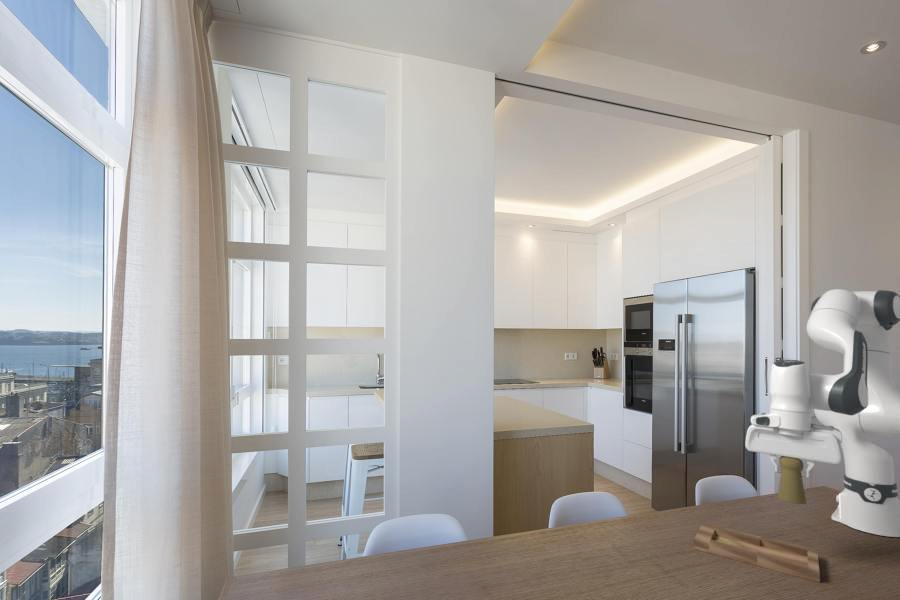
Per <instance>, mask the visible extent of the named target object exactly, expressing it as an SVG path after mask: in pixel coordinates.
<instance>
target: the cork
mask: <svg viewBox="0 0 900 600" xmlns="http://www.w3.org/2000/svg"><path fill="white" fill-rule="evenodd" d="M802 460H803V459H798V458H791V457H785V456H780V457H779V458H778V465H780V467H781V468H782V469H781V471H782V472H781V473H780V478H779V486H778V491H777V492H778V493H777V499H779V500H780V501H783V502H788V503H791V504H797V505H806V504H807V499H806V493H805V488H804V487H805V486H804V482H803V477H802V470H803V469H804V463H803V461H802Z"/></svg>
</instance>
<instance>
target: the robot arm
mask: <svg viewBox="0 0 900 600" xmlns="http://www.w3.org/2000/svg"><path fill="white" fill-rule="evenodd" d="M899 322H900V295H899V294H898V293H897V292H896V291H892V290H885V289H884V290H881V289H880V290H879V289H878V290H859V291H858V290H856V291H855V290H854V291H850V290H849V289H845V288H844V289H842V288H834V289H829V290H828V291H826V292H824V293H823V294H822V295H821V296H818V297H816V298H815V300H813V301H812V303H811V306H810V314H809V317H808V320H807V323H806V327H805V328H806V333H807V336H808V337H809V338H810V340H811V341H812V342H813V343H815V344H817V346H820V348H821V347H822V348H824V349H826V350H829V351H834V352H837V353H840V354H841V355H843V371H842V372H841V373H839V374H825V373H824V374H822V373H812V372H809V369H808V366H807V365H808V364H807V363H806V362H805V361H801V360H796V359H781V360H777V361H775V362H773V363H772V364H771V367H770V373H769V385H768V386H769V388H768V390H769V394H770V399H771V400H770V404H769V412H763V413H760V414H759V413H757V414H753V415H751V416H750V423H751V424H750V425H749V426H748V428H747V430H746V435H745V441H744V444H745V445H744V446H745V448H746V450H747V451H748V452H753V453H761V454H765V455H769V460H770V461H771V463H772V465H773V466H774V473H778V474H781V472H782V471H781V469H782V468H781V467H780V465H779V463H778V462H777V461H776V459H777V456H780V457H782V456H785V457H791V458H798V459H800V460H805V461H806V464H807V466H806V468H805V469H804V468H803V470H802V471H801V475H802V478H805V479H809V478H810V473H809V472H810V471H811V470H812V469H813V468H814V466H815V463H814V462H819V463H824V464H830V465H831V464H833V465H839V464H841V463H842V453H843V462H844V473H845V474H844V475H843V487H844V488H843V490H842V491H840V493H838V494H836V499H835V501H836V503H838V504H837V508H836V509H835V510H834V511H833V512H832V513H831V518H830V519H831V520H832V521H835V522H837V523H841V524H843V525H846V526H848V527H850V528H852V529H855V530H858V531H861V532H865V533H868V534H872V535H876V536H881V537H883V536H884V537H892V538H900V499H899V498H898V496H899V495H898V492H899V489H898V486H897V483H896V482H895V467H894V466H895V465H894V458H893V457H892V455H891V454H890V453H889V452H888V451H886V449H884V448H882V447H880V446H878V445H876V444H875V443H873V441H871V440H870V439H869V437H868V436H867V434H869V435H870V434H871V435H876V436H877V435H878V436H883V437H884V436H885V437H890V438H891V437H892V438H900V390H899V389H898V388H897V385H896V384H895V381H894V376H893V369H892V367H893V366H892V345H891V344H892V343H891V336H890V333H889V330H891V329H892V328H893V327H894V326H896V325H897V324H898V323H899ZM811 409H812V410H813V411H814V415H815V417H816V419H817V420H818V421H819V423H820V424H818V423H817V424H816V423H812V410H811ZM840 447H841V448H840ZM841 451H842V453H841Z"/></svg>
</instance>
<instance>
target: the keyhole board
mask: <svg viewBox="0 0 900 600" xmlns="http://www.w3.org/2000/svg"><path fill="white" fill-rule="evenodd" d="M693 549H694V550H696V551H701V552H704V553H708V554H712V555H715V556H719V557H723V558H727V559H731V560H734V561H737V562H742V563H745V564H749V565H752V566H753V565H754V566H757V567H760V568H764V569H768V570H771V571H776V572H779V573H782V574H786V575H790V576H794V577H797V578H802V579H804V580H808V581H812V582H816V583H821V578H820V577H821V575H820V573H821V572H820V564H819V556H818V555H819V554H818V549H815V548H810V547H808V546H806V547H805V546H801V545H797V544H793V543H789V542H786V541H781V540H776V539H772V538H768V537H763V536H759V535H755V534H752V533H747V532H742V531H738V530H735V529H730V528H726V527H721V526H717V525H713V524H709V523H704V522H702V523H701V524H700V527H699V529H698V531H697V533H696V534H695V536H694V538H693Z"/></svg>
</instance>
